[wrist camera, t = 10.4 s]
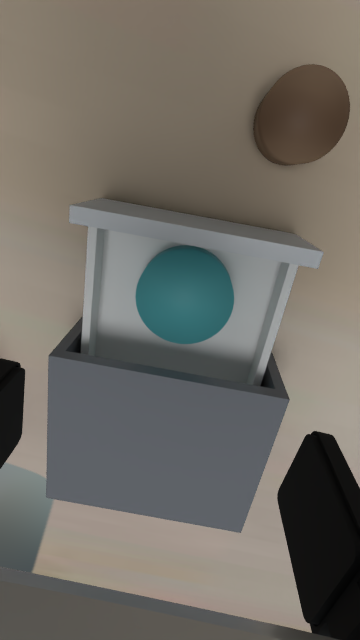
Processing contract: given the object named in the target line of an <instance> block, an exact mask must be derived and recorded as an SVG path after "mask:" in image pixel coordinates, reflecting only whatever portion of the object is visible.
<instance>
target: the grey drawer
mask: <svg viewBox="0 0 360 640" xmlns="http://www.w3.org/2000/svg"><path fill="white" fill-rule="evenodd" d="M69 223H73V224H78V225H84V226H88V239H87V256H86V273H85V289H84V306H83V323H82V339H81V354H86V355H91V356H97V357H102V358H108V359H113V360H119V361H124V362H130V363H135V364H141V365H146V366H151V367H157V368H162V369H168V370H173V371H179V372H184V373H190V374H195V375H201V376H206V377H212V378H217V379H223V380H228V381H233V382H239V383H244V384H250V385H255V386H260V385H261V382H262V379H263V376H264V373H265V370H266V366H267V363H268V360H269V357H270V354H271V351H272V347H273V344H274V341H275V338H276V335H277V332H278V329H279V325H280V322H281V319H282V316H283V313H284V310H285V307H286V303H287V300H288V297H289V294H290V291H291V288H292V284H293V281H294V278H295V275H296V272H297V269H298V266H299V265H300V266H306V267H311V268H316V269H318V267H319V265H320V262H321V259H322V256H323V253H324V252H323V251H321V250H320V249H318V248H317V247H315V246H314V245H312V244H311V243H309V242H307V241H306V240H304V239H303V238H301V237H300V236H298V235H297V234H293V233H288V232H282V231H277V230H271V229H266V228H261V227H255V226H250V225H244V224H239V223H234V222H228V221H223V220H218V219H212V218H207V217H201V216H196V215H191V214H185V213H180V212H174V211H169V210H164V209H158V208H153V207H147V206H142V205H137V204H131V203H126V202H120V201H115V200H110V199H104V198H99V199H95V200H90V201H86V202H81V203H77V204H72V205H70V214H69ZM180 245H190V246H196V247H200V248H203V249H205V250H207V251H209V252H211V253H212V254H214V255H215V256H216V257H217V258H218V259H219V260H220V261H221V262H222V263H223V264H224V266H225V267H226V269H227V271H228V273H229V276H230V279H231V283H232V286H233V290H234V305H233V310H232V313H231V316H230V318H229V320H228V321H227V323H226V325H225V326H224V327H223V328H222V329H221V330H220V331H219V332H218V333H217V334H215V335H214V336H213V337H211V338H209V339H207V340H205V341H202V342H198V343H194V344H177V343H173V342H169V341H166V340H164V339H162V338H160V337H158V336H157V335H155V334H154V333H153V332H152V331H150V330H149V328H148V327H147V326H146V325H145V324H144V322H143V321H142V319H141V317H140V315H139V313H138V310H137V306H136V298H135V297H136V288H137V284H138V281H139V278H140V276H141V274H142V273H143V271H144V270H145V268H146V266H147V265H148V263H149V262H150V261H151V260H152V259H153V258H154V257H155V256H156V255H157V254H159V253H160V252H162V251H164V250H166V249H168V248H171V247H174V246H180Z"/></svg>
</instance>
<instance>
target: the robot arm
mask: <svg viewBox="0 0 360 640" xmlns="http://www.w3.org/2000/svg"><path fill="white" fill-rule="evenodd" d="M24 384H25V369H24V368H21V366H20V363H18V362H14V361H10V360H6V359H0V468H1V467H2V466H3V464H4V463H5V461H6V460H7V459H8V457H9V456H10V454H11V453H12V451H13V450H14V448H15V447H16V445H17V444H18V442H19V440H20V438H21V435H22V424H23V404H24ZM278 505H279V509H280V514H281V518H282V523H283V527H284V532H285V536H286V541H287V545H288V550H289V554H290V558H291V563H292V567H293V572H294V576H295V581H296V585H297V590H298V594H299V599H300V603H301V608H302V612H303V616H304V619H305V621H306V622H307V623H310V626H311V630H312V633H309V632H305V631H301V630H297V629H293V628H288V627H284V626H279V625H274V624H270V623H265V622H261V621H256V620H251V619H247V618H242V617H238V616H233V615H228V614H224V613H219V612H215V611H210V610H205V609H201V608H196V607H191V606H187V605H182V604H177V603H172V602H168V601H163V600H158V599H154V598H149V597H144V596H139V595H135V594H130V593H125V592H120V591H116V590H111V589H106V588H101V587H97V586H92V585H87V584H82V583H77V582H72V581H68V580H63V579H58V578H53V577H48V576H43V575H38V574H33V573H28V572H24V571H19V570H14V569H9V568H4V567H0V640H360V488H359V486H358V484H357V482H356V480H355V478H354V476H353V474H352V472H351V470H350V468H349V466H348V464H347V462H346V460H345V458H344V456H343V454H342V452H341V450H340V448H339V446H338V444H337V442H336V440H335V438H334V436H333V435H330V434H326V433H322V432H317V431H314V432H312V433H311V435H310V434H307V435H306V436H305V438H304V440H303V442H302V444H301V446H300V448H299V450H298V452H297V454H296V456H295V458H294V460H293V462H292V464H291V466H290V468H289V470H288V472H287V474H286V476H285V478H284V480H283V482H282V484H281V486H280V488H279V491H278Z"/></svg>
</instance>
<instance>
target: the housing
mask: <svg viewBox="0 0 360 640" xmlns="http://www.w3.org/2000/svg"><path fill="white" fill-rule="evenodd" d="M82 323H83V317H82V318H81V319H80V320H79V321H78V322H77V323H76V325H75V326H74V327H73V328H72V329H71V330H70V332H69V333H68V334H67V335H66V336H65V337H64V338H63V340H62V341H61V342H60V343H59V344H58V345H57V347H56V348H55V349H54V350H53V351H52V352H51V353H50V355H49V363H48V424H47V485H46V497H47V498H51V499H56V500H62V501H68V502H73V503H79V504H84V505H90V506H95V507H101V508H106V509H112V510H117V511H123V512H129V513H134V514H140V515H145V516H151V517H156V518H162V519H167V520H173V521H178V522H184V523H190V524H195V525H201V526H206V527H212V528H217V529H223V530H228V531H234V532H239V533H241V531H242V528H243V526H244V523H245V520H246V517H247V515H248V512H249V509H250V506H251V504H252V501H253V498H254V495H255V493H256V490H257V487H258V485H259V482H260V479H261V476H262V474H263V471H264V468H265V465H266V463H267V460H268V457H269V455H270V452H271V449H272V446H273V444H274V441H275V438H276V435H277V433H278V430H279V427H280V424H281V422H282V419H283V416H284V414H285V411H286V408H287V405H288V403H289V400H290V399H289V397H288V394H287V392H286V389H285V386H284V384H283V381H282V378H281V376H280V373H279V370H278V368H277V365H276V362H275V360H274V357H273V354H272V352H271V354H270V357H269V360H268V363H267V366H266V370H265V373H264V376H263V379H262V382H261V385H260V386H255V385H250V384H244V383H239V382H233V381H228V380H223V379H217V378H212V377H206V376H201V375H195V374H190V373H184V372H179V371H173V370H168V369H162V368H157V367H151V366H146V365H141V364H135V363H130V362H124V361H119V360H113V359H108V358H102V357H97V356H91V355H86V354H81V339H82Z"/></svg>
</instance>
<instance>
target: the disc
mask: <svg viewBox="0 0 360 640" xmlns="http://www.w3.org/2000/svg"><path fill="white" fill-rule="evenodd" d="M135 298H136V306H137V310H138V313H139V315H140V317H141V319H142V321H143V322H144V324H145V325H146V326H147V327H148V328H149V330H150V331H152V332H153V333H154V334H155V335H157V336H158V337H160V338H162V339H164V340H166V341H169V342H173V343H177V344H194V343H198V342H202V341H205V340H207V339H209V338H211V337H213V336H214V335H215V334H217V333H218V332H219V331H220V330H221V329H222V328H223V327H224V326H225V325H226V323H227V321H228V320H229V318H230V316H231V313H232V310H233V305H234V290H233V286H232V283H231V279H230V276H229V273H228V271H227V269H226V267H225V266H224V264H223V263H222V262H221V261H220V260H219V259H218V258H217V257H216V256H215V255H214V254H212V253H211V252H209V251H207V250H205V249H203V248H200V247H196V246H190V245H180V246H174V247H171V248H168V249H166V250H164V251H162V252H160V253H159V254H157V255H156V256H155V257H154V258H153V259H152V260H151V261H150V262H149V263H148V265H147V266H146V268H145V270H144V271H143V273H142V274H141V276H140V278H139V281H138V284H137V288H136V297H135Z"/></svg>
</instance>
